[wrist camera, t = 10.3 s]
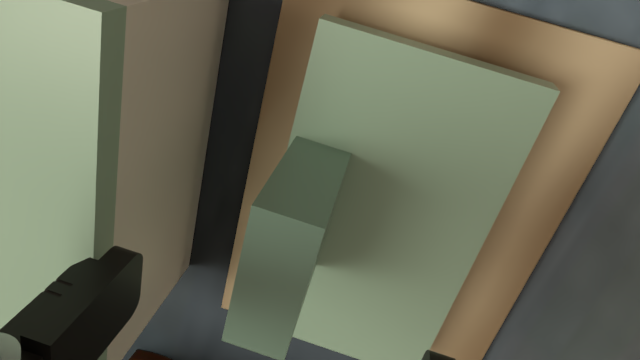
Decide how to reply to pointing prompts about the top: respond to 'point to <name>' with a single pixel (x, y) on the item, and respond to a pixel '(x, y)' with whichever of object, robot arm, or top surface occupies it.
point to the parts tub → (103, 140)
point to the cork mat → (539, 167)
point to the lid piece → (380, 195)
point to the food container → (147, 356)
